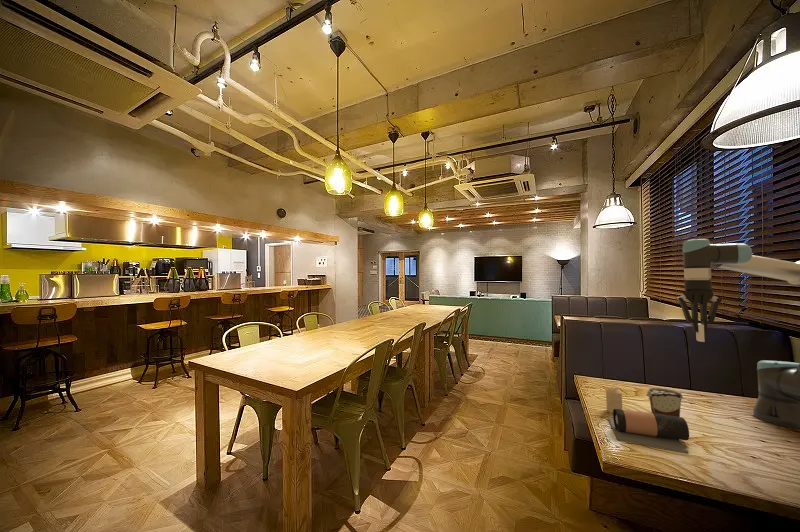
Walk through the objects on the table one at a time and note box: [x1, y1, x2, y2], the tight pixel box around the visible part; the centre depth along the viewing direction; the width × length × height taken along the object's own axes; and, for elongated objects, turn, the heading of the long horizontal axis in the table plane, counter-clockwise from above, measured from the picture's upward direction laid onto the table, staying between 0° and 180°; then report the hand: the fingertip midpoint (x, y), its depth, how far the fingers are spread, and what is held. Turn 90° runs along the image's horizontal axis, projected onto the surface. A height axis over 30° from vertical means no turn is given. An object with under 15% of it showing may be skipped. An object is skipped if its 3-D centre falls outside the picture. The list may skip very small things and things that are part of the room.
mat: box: [607, 417, 689, 454], centre depth 112 cm, size 19×18×1 cm
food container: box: [646, 387, 684, 417], centre depth 128 cm, size 12×6×10 cm, turn 84°
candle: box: [605, 386, 623, 415], centre depth 131 cm, size 6×6×10 cm
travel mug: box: [612, 408, 690, 441], centre depth 110 cm, size 8×8×20 cm
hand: (700, 341), depth 118 cm, fingers closed
